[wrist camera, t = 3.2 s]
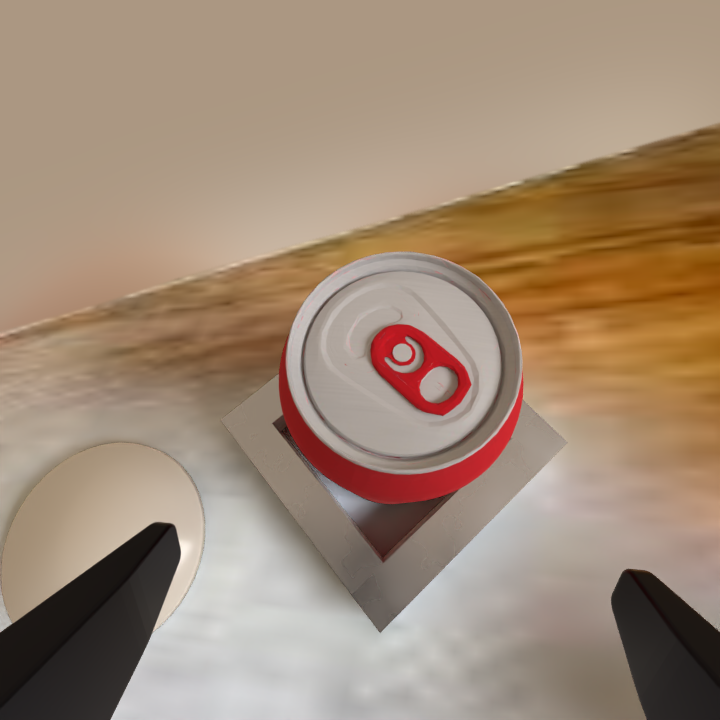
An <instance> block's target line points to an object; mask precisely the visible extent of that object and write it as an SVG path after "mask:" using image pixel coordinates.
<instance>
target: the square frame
mask: <svg viewBox="0 0 720 720" xmlns="http://www.w3.org/2000/svg"><path fill="white" fill-rule="evenodd" d="M221 421H222V423H223V424H224V425H225V427H226V428H227V429H228V431H229V432H230V433H231V435H232V436H233V437H234V439H235V440H236V441H237V443H238V444H239V445H240V447H241V448H242V449H243V451H244V452H245V453H246V455H247V456H248V457H249V459H250V460H251V461H252V463H253V464H254V465H255V467H256V468H257V469H258V471H259V472H260V473H261V475H262V476H263V477H264V479H265V480H266V481H267V483H268V484H269V485H270V487H271V488H272V489H273V491H274V492H275V493H276V495H277V496H278V497H279V499H280V500H281V501H282V503H283V504H284V505H285V507H286V508H287V509H288V511H289V512H290V513H291V515H292V516H293V517H294V519H295V520H296V521H297V523H298V524H299V525H300V527H301V528H302V529H303V531H304V532H305V533H306V535H307V536H308V537H309V539H310V540H311V541H312V543H313V544H314V545H315V547H316V548H317V549H318V551H319V552H320V553H321V555H322V556H323V557H324V559H325V560H326V561H327V563H328V564H329V565H330V567H331V568H332V569H333V571H334V572H335V573H336V575H337V576H338V577H339V579H340V580H341V581H342V583H343V584H344V585H345V587H346V588H347V589H348V591H349V592H350V593H351V595H352V596H353V597H354V599H355V600H356V601H357V603H358V604H359V605H360V607H361V608H362V609H363V611H364V612H365V613H366V615H367V616H368V617H369V619H370V620H371V621H372V623H373V624H374V625H375V627H376V628H377V629H378V631H379V632H381V631H382V630H383V629H384V628H385V627H386V626H387V625H388V624H389V623H390V622H391V621H392V620H393V619H394V618H395V617H396V616H397V615H398V614H399V613H400V612H401V611H402V610H403V609H404V608H405V607H406V606H407V605H408V604H409V603H410V602H411V601H412V600H413V599H414V598H415V597H416V596H417V595H418V594H419V593H420V592H421V591H422V590H423V589H424V588H425V587H426V586H427V585H428V584H429V583H430V582H431V581H432V580H433V579H434V578H435V577H436V576H437V575H438V574H439V573H440V572H441V571H442V570H443V569H444V568H445V566H446V565H447V564H448V563H449V562H450V561H451V560H452V559H453V558H454V557H455V556H456V555H457V554H458V553H459V552H460V551H461V550H462V549H463V548H464V547H465V546H466V545H467V544H468V543H469V542H470V541H471V540H472V539H473V538H474V537H475V536H476V535H477V534H478V533H479V532H480V531H481V530H482V529H483V528H484V527H485V526H486V525H487V524H488V523H489V522H490V521H491V520H492V519H493V518H494V517H495V516H496V515H497V514H498V513H499V512H500V511H501V510H502V509H503V508H504V507H505V506H506V505H507V504H508V503H509V502H510V500H511V499H512V498H513V497H514V496H515V495H516V494H517V493H518V492H519V491H520V490H521V489H522V488H523V487H524V486H525V485H526V484H527V483H528V482H529V481H530V480H531V479H532V478H533V477H534V476H535V475H536V474H537V473H538V472H539V471H540V470H541V469H542V468H543V467H544V466H545V465H546V464H547V463H548V462H549V461H550V460H551V459H552V458H553V457H554V456H555V455H556V454H557V453H558V452H559V451H560V450H561V449H562V448H563V447H564V446H565V445H566V444H567V443H568V442H567V441H566V440H565V439H564V438H562V437H561V436H560V435H559V434H558V433H557V432H556V431H555V430H554V429H553V428H552V427H551V426H550V425H549V424H548V423H547V422H546V421H545V420H544V419H542V418H541V417H540V416H539V415H538V414H537V413H536V412H535V411H534V410H533V409H532V408H531V407H530V406H529V405H528V404H527V403H526V402H525V401H524V400H523V399H522V405H521V410H520V414H519V418H518V421H517V424H516V426H515V429H514V431H513V434H512V436H511V438H510V440H509V442H508V443H507V445H506V447H505V449H504V450H503V451H502V453H501V454H500V456H499V457H498V458H497V459H496V460H495V462H494V463H493V464H492V465H491V466H490V467H489V468H488V469H487V470H486V471H485V472H484V473H483V474H481V475H480V476H479V477H478V478H476V479H475V480H473V481H472V482H470V483H469V484H468V485H466V486H464V487H462V488H460V489H458V490H456V491H454V492H452V493H449V494H448V495H447V496H446V497H445V498H444V499H443V500H442V501H441V502H440V503H439V504H438V505H437V506H436V507H435V508H434V509H433V510H431V511H430V512H429V513H428V514H427V515H426V516H425V517H424V518H423V519H422V520H421V521H420V522H419V523H418V524H417V525H416V526H415V527H414V528H413V529H412V530H411V531H410V532H409V533H408V534H407V535H406V536H405V537H404V538H403V539H402V540H401V541H399V542H398V543H397V544H396V545H395V546H394V547H393V548H392V549H391V550H390V551H389V552H388V553H387V554H386V555H385V556H384V557H383V558H382V556H381V555H380V554H379V553H378V551H377V550H376V549H375V548H374V546H373V545H372V544H371V543H370V541H369V540H368V539H367V538H366V536H365V535H364V534H363V533H362V531H361V530H360V529H359V528H358V526H357V525H356V524H355V523H354V521H353V520H352V519H351V518H350V516H349V515H348V514H347V513H346V511H345V510H344V509H343V508H342V506H341V505H340V504H339V503H338V501H337V500H336V499H335V498H334V496H333V495H332V494H331V493H330V491H329V490H328V489H327V488H326V486H325V485H324V484H323V483H322V481H321V480H320V479H319V478H318V476H317V475H316V474H315V473H314V471H313V470H312V469H311V468H310V466H309V465H308V464H307V463H306V461H305V460H304V459H303V457H302V456H301V455H300V454H299V452H298V451H297V450H296V449H295V447H294V446H293V445H292V444H291V442H290V441H289V440H288V439H287V437H286V436H285V435H284V434H283V432H282V430H283V429H284V428H286V427H287V425H286V422H285V419H284V416H283V412H282V408H281V403H280V396H279V374H278V375H276V376H275V377H274V378H273V379H271V380H270V381H269V382H267V383H266V384H265V385H264V386H262V387H261V388H260V389H259V390H257V391H256V392H255V393H254V394H252V395H251V396H250V397H249V398H247V399H246V400H245V401H244V402H242V403H241V404H240V405H239V406H237V407H236V408H235V409H234V410H232V411H231V412H230V413H228V414H227V415H226V416H225V417H223V418H222V419H221Z"/></svg>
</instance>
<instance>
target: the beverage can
mask: <svg viewBox="0 0 720 720" xmlns="http://www.w3.org/2000/svg"><path fill="white" fill-rule="evenodd" d="M279 396H280V403H281V408H282V412H283V416H284V419H285V422H286V425H287V427H288V429H289V431H290V434H291V436H292V437H293V439H294V441H295V443H296V444H297V446H298V447H299V449H300V450H301V452H302V453H303V454H304V456H305V457H306V458H307V459H308V460H309V461H310V463H311V464H312V465H313V466H314V467H315V468H316V469H318V470H319V471H320V472H321V473H322V474H323V475H325V476H326V477H327V478H329V479H330V480H331V481H333V482H335V483H336V484H338V485H339V486H341V487H343V488H345V489H347V490H349V491H351V492H353V493H354V494H356V495H358V496H360V497H362V498H364V499H367V500H369V501H373V502H377V503H383V504H400V503H409V502H418V501H425V500H430V499H434V498H438V497H441V496H444V495H447V494H449V493H452V492H454V491H456V490H458V489H460V488H462V487H464V486H466V485H468V484H469V483H470V482H472V481H473V480H475V479H476V478H478V477H479V476H480V475H481V474H483V473H484V472H485V471H486V470H487V469H488V468H489V467H490V466H491V465H492V464H493V463H494V462H495V460H496V459H497V458H498V457H499V456H500V454H501V453H502V451H503V450H504V449H505V447H506V445H507V443H508V442H509V440H510V438H511V436H512V434H513V431H514V429H515V426H516V424H517V421H518V418H519V414H520V410H521V405H522V399H523V373H522V352H521V346H520V341H519V336H518V333H517V330H516V328H515V326H514V323H513V321H512V318H511V316H510V314H509V313H508V311H507V309H506V308H505V306H504V304H503V303H502V301H501V300H500V299H499V298H498V297H497V295H496V294H495V293H494V292H493V291H492V289H491V288H490V287H489V286H487V285H486V284H485V283H484V282H483V281H482V280H481V279H480V278H478V277H477V276H476V275H474V274H473V273H471V272H469V271H468V270H466V269H465V268H463V267H461V266H459V265H457V264H455V263H453V262H451V261H448V260H446V259H443V258H440V257H437V256H433V255H427V254H422V253H415V252H386V253H381V254H375V255H370V256H367V257H364V258H361V259H358V260H356V261H353V262H351V263H349V264H347V265H345V266H343V267H341V268H339V269H338V270H336V271H335V272H333V273H332V274H330V275H329V276H327V277H326V278H325V279H324V280H323V281H322V282H321V283H320V284H318V286H317V287H316V288H315V289H314V290H313V291H312V292H311V293H310V294H309V295H308V297H307V298H306V300H305V301H304V302H303V304H302V305H301V307H300V309H299V310H298V312H297V315H296V317H295V319H294V321H293V324H292V326H291V329H290V333H289V335H288V337H287V340H286V343H285V346H284V349H283V353H282V357H281V362H280V369H279Z"/></svg>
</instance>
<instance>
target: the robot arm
mask: <svg viewBox="0 0 720 720" xmlns="http://www.w3.org/2000/svg"><path fill="white" fill-rule="evenodd" d="M180 558H181V548H180V543H179V539H178V534H177V530H176V527H175V525H174V524H172V523H165V522H154V523H152V524H150V525H149V526H147V527H146V528H144V529H143V530H142V531H140V532H139V533H137V534H136V535H135V536H133V537H132V538H131V539H129V540H128V541H126V542H125V543H124V544H122V545H121V546H119V547H118V548H117V549H115V550H114V551H112V552H111V553H110V554H108V555H107V556H106V557H104V558H103V559H101V560H100V561H99V562H97V563H96V564H94V565H93V566H92V567H90V568H89V569H88V570H86V571H85V572H83V573H82V574H81V575H79V576H78V577H76V578H75V579H74V580H72V581H71V582H70V583H68V584H67V585H65V586H64V587H63V588H61V589H60V590H58V591H57V592H56V593H54V594H53V595H51V596H50V597H49V598H47V599H46V600H45V601H43V602H42V603H40V604H39V605H38V606H36V607H35V608H33V609H32V610H31V611H29V612H28V613H27V614H25V615H24V616H22V617H21V618H20V619H18V620H17V621H15V622H14V623H13V624H11V625H10V626H9V627H7V628H6V629H4V630H3V631H2V632H0V720H110V719H111V717H112V715H113V713H114V711H115V709H116V707H117V705H118V703H119V701H120V699H121V697H122V695H123V693H124V691H125V689H126V687H127V685H128V683H129V681H130V679H131V677H132V675H133V673H134V671H135V669H136V667H137V665H138V663H139V661H140V659H141V657H142V654H143V652H144V650H145V648H146V646H147V644H148V642H149V639H150V637H151V634H152V632H153V630H154V627H155V624H156V622H157V619H158V617H159V614H160V611H161V609H162V606H163V604H164V601H165V598H166V596H167V593H168V591H169V588H170V585H171V583H172V580H173V578H174V575H175V572H176V570H177V567H178V565H179V562H180ZM611 605H612V610H613V613H614V617H615V620H616V623H617V627H618V630H619V633H620V637H621V640H622V644H623V647H624V650H625V654H626V657H627V660H628V664H629V667H630V671H631V674H632V677H633V681H634V684H635V687H636V690H637V693H638V696H639V700H640V702H641V705H642V708H643V710H644V713H645V716H646V718H647V720H720V632H719V631H718V630H717V629H716V628H714V627H713V626H712V625H711V624H710V623H709V622H708V621H706V620H705V619H704V618H703V617H702V616H701V615H700V614H698V613H697V612H696V611H695V610H694V609H693V608H691V607H690V606H689V605H688V604H687V603H686V602H685V601H683V600H682V599H681V598H680V597H679V596H678V595H676V594H675V593H674V592H673V591H672V590H671V589H670V588H668V587H667V586H666V585H665V584H664V583H663V582H662V581H660V580H659V579H658V578H657V577H656V576H655V575H653V574H652V573H650V572H648V571H645V570H636V569H626V570H624V571H623V572H622V574H621V576H620V578H619V581H618V583H617V585H616V587H615V589H614V591H613V593H612V597H611Z"/></svg>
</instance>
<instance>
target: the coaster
mask: <svg viewBox="0 0 720 720" xmlns="http://www.w3.org/2000/svg"><path fill="white" fill-rule="evenodd" d="M154 522H165V523H172V524H174V525H175V527H176V530H177V534H178V539H179V543H180V548H181V558H180V562H179V565H178V567H177V570H176V572H175V575H174V578H173V580H172V583H171V585H170V588H169V591H168V593H167V596H166V598H165V601H164V604H163V606H162V609H161V611H160V614H159V617H158V619H157V622H156V624H155V627H154V630H153V632H154V631H155V630H156V629H158V628H159V627H160V626H161V625H162V624H163V623H164V622H165V621H166V620H167V619H168V618H169V617H170V616H171V615H172V614H173V612H174V611H175V610H176V609H177V607H178V606H179V605H180V603H181V602H182V600H183V599H184V597H185V596H186V594H187V592H188V591H189V589H190V587H191V585H192V583H193V581H194V579H195V576H196V573H197V571H198V568H199V565H200V562H201V558H202V554H203V549H204V541H205V516H204V508H203V504H202V501H201V497H200V494H199V492H198V489H197V487H196V485H195V483H194V482H193V480H192V478H191V476H190V475H189V474H188V473H187V471H186V470H185V469H184V468H183V467H182V466H181V465H180V464H179V463H178V462H177V461H176V460H175V459H173V458H172V457H170V456H169V455H167V454H166V453H163V452H161V451H159V450H157V449H154V448H151V447H147V446H144V445H140V444H133V443H110V444H103V445H99V446H95V447H92V448H89V449H87V450H84V451H81V452H79V453H77V454H75V455H74V456H72V457H70V458H68V459H66V460H65V461H64V462H62V463H61V464H59V465H58V466H56V467H55V468H54V469H53V470H51V471H50V472H49V473H48V474H47V475H46V476H45V477H44V478H43V479H42V480H41V481H40V482H39V483H38V484H37V485H36V486H35V487H34V489H33V490H32V491H31V492H30V494H29V495H28V496H27V498H26V499H25V501H24V502H23V504H22V505H21V507H20V508H19V510H18V512H17V514H16V516H15V518H14V520H13V522H12V525H11V527H10V530H9V532H8V535H7V538H6V542H5V546H4V549H3V556H2V562H1V588H2V595H3V599H4V604H5V607H6V609H7V612H8V615H9V617H10V619H11V621H12V623H14V622H15V621H17V620H18V619H20V618H21V617H22V616H24V615H25V614H27V613H28V612H29V611H31V610H32V609H33V608H35V607H36V606H38V605H39V604H40V603H42V602H43V601H45V600H46V599H47V598H49V597H50V596H51V595H53V594H54V593H56V592H57V591H58V590H60V589H61V588H63V587H64V586H65V585H67V584H68V583H70V582H71V581H72V580H74V579H75V578H76V577H78V576H79V575H81V574H82V573H83V572H85V571H86V570H88V569H89V568H90V567H92V566H93V565H94V564H96V563H97V562H99V561H100V560H101V559H103V558H104V557H106V556H107V555H108V554H110V553H111V552H112V551H114V550H115V549H117V548H118V547H119V546H121V545H122V544H124V543H125V542H126V541H128V540H129V539H131V538H132V537H133V536H135V535H136V534H137V533H139V532H140V531H142V530H143V529H144V528H146V527H147V526H149V525H150V524H152V523H154ZM153 632H152V633H153Z"/></svg>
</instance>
